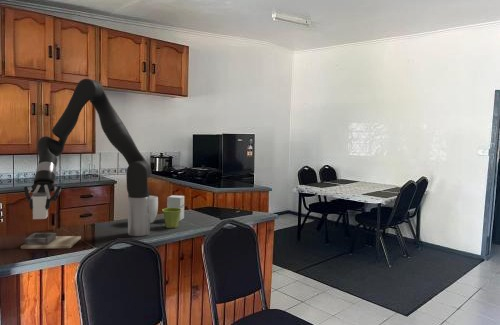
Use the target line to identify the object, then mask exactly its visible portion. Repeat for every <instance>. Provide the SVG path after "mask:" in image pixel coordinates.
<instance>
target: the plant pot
mask: <svg viewBox="0 0 500 325" xmlns="http://www.w3.org/2000/svg"><path fill="white" fill-rule="evenodd" d="M181 210H182V209H180V208H167V207H166V208H162V209H161V211H162V213H163V218H164V225H165V228H167V229H172V228H174V229H176V228H178V227H179V222H180V221H179V216H180V212H181Z"/></svg>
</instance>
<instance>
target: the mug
mask: <svg viewBox="0 0 500 325" xmlns="http://www.w3.org/2000/svg"><path fill="white" fill-rule="evenodd" d="M158 209H159V197H158V196H157V195H149V212H150V224H152V223H154V222H155V220H156V219H157V218H156V217H157V215H158Z"/></svg>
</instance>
